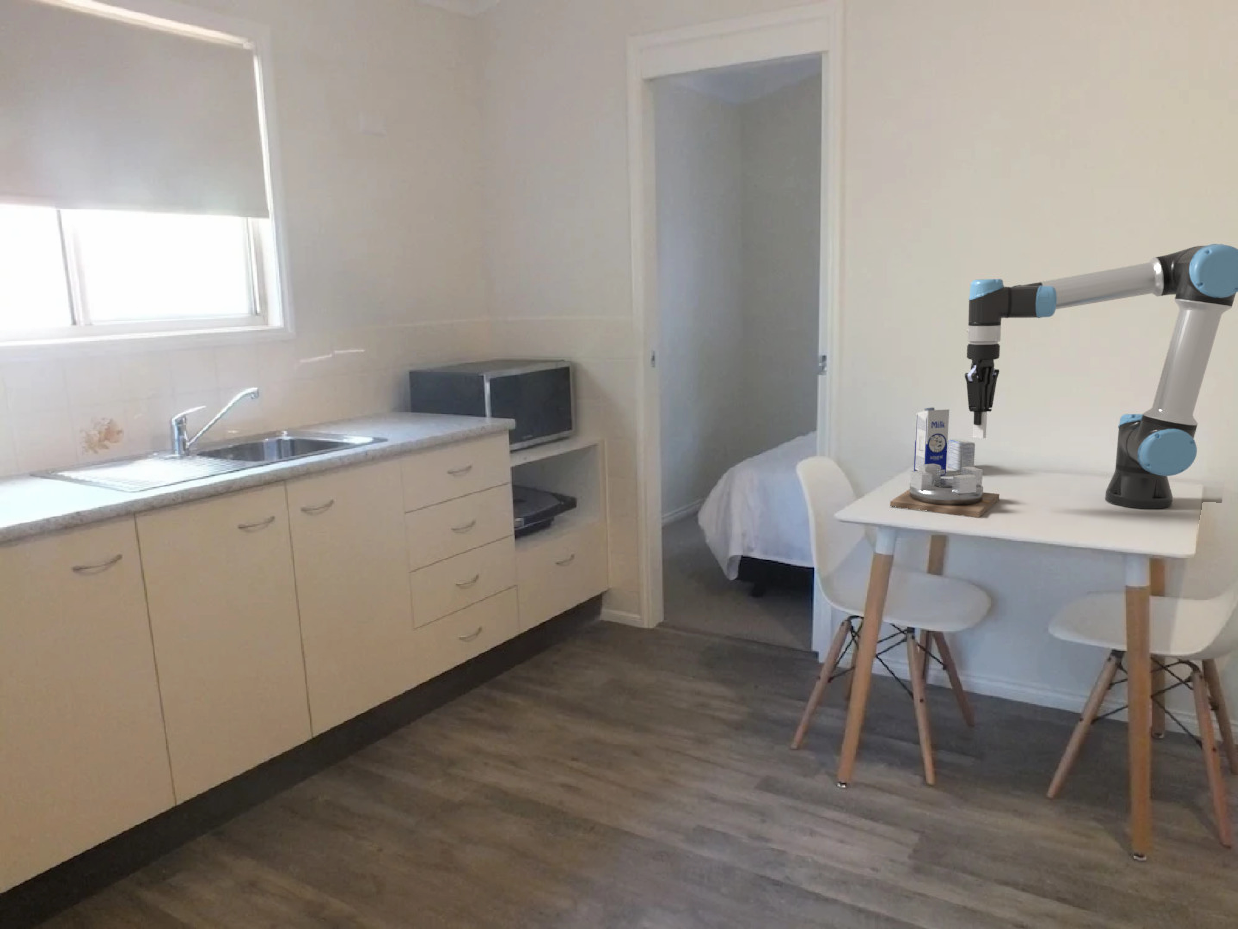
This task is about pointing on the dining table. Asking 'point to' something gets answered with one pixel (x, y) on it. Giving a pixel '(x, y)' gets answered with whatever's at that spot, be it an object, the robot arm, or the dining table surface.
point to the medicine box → (960, 454)
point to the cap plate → (966, 510)
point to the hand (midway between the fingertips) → (979, 437)
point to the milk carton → (931, 438)
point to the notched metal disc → (946, 486)
